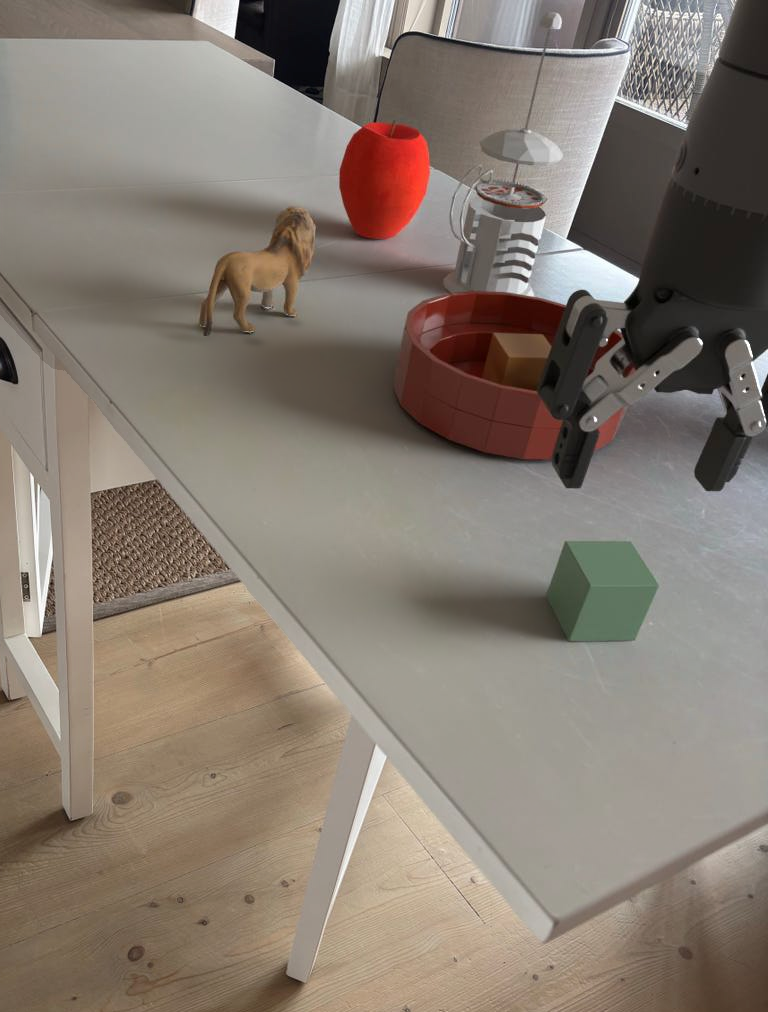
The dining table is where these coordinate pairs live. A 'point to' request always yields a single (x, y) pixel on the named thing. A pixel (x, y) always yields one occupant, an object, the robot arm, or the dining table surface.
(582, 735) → the dining table surface
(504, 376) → the block
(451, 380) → the red shallow bowl
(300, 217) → the lion figurine
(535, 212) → the french press
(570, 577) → the block
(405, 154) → the apple
